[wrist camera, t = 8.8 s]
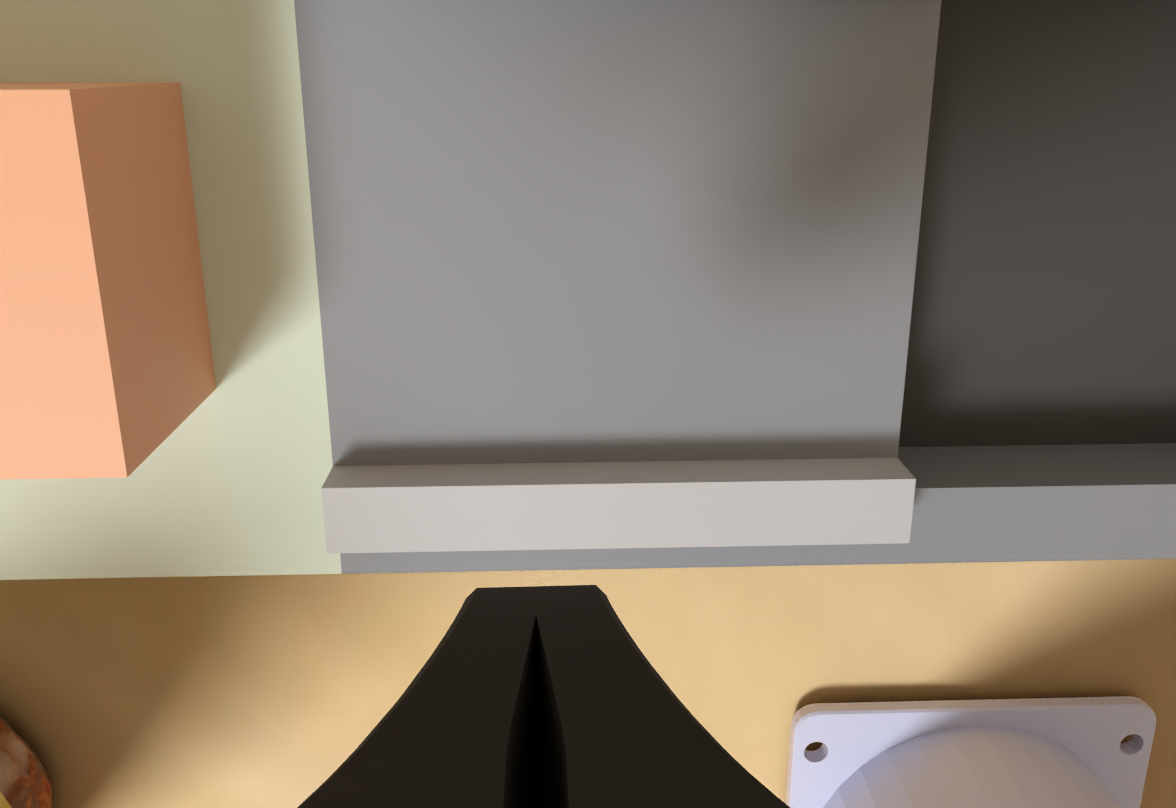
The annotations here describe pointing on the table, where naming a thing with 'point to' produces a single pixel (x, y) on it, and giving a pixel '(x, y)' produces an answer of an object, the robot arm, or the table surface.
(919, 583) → the table surface
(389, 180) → the tunnel deck
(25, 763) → the sauce bottle
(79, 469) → the terracotta block
